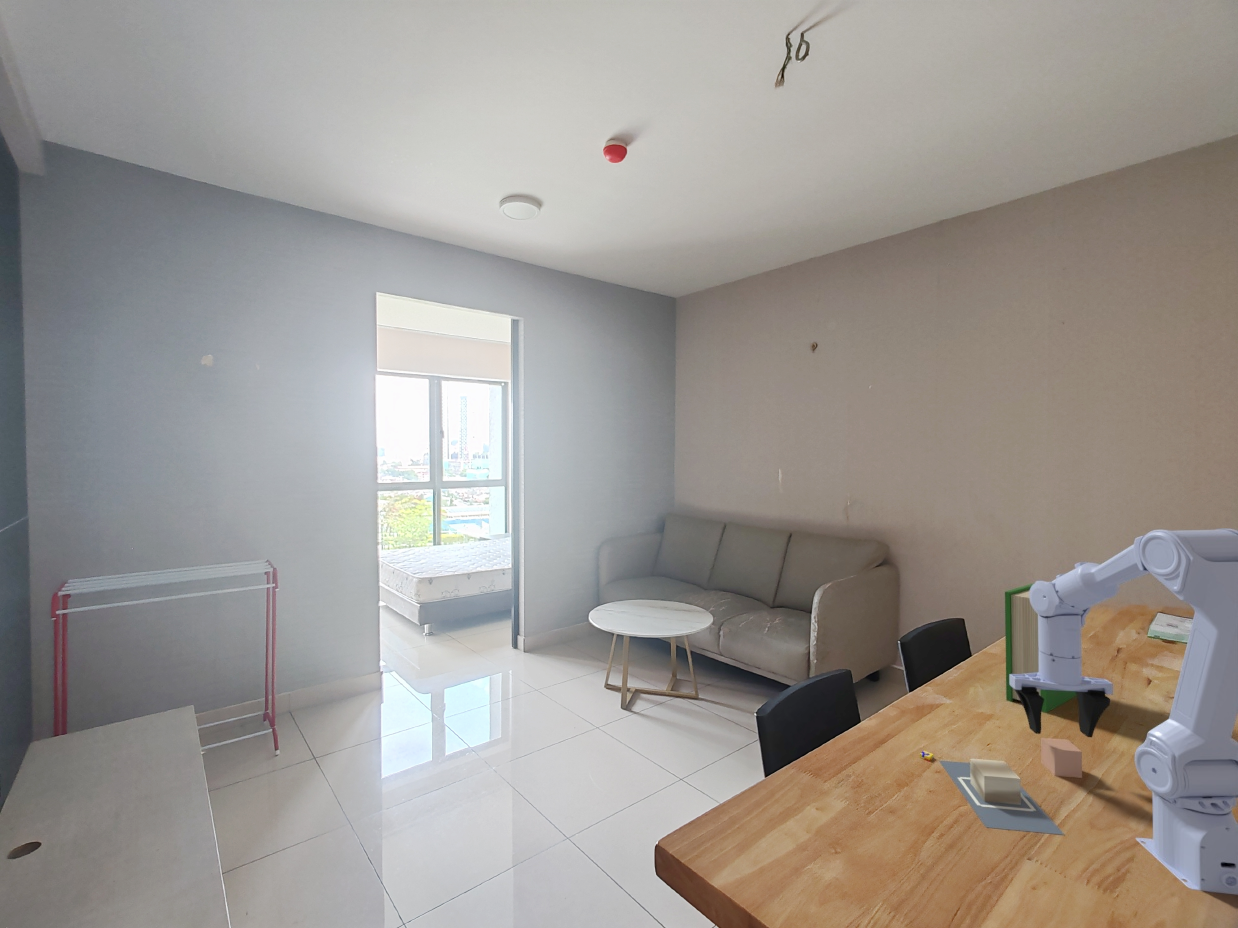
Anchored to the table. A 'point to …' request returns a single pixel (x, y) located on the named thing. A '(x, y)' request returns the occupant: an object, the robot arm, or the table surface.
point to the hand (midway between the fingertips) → (1060, 732)
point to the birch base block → (995, 781)
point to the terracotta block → (1061, 757)
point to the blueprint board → (1001, 806)
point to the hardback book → (1025, 646)
